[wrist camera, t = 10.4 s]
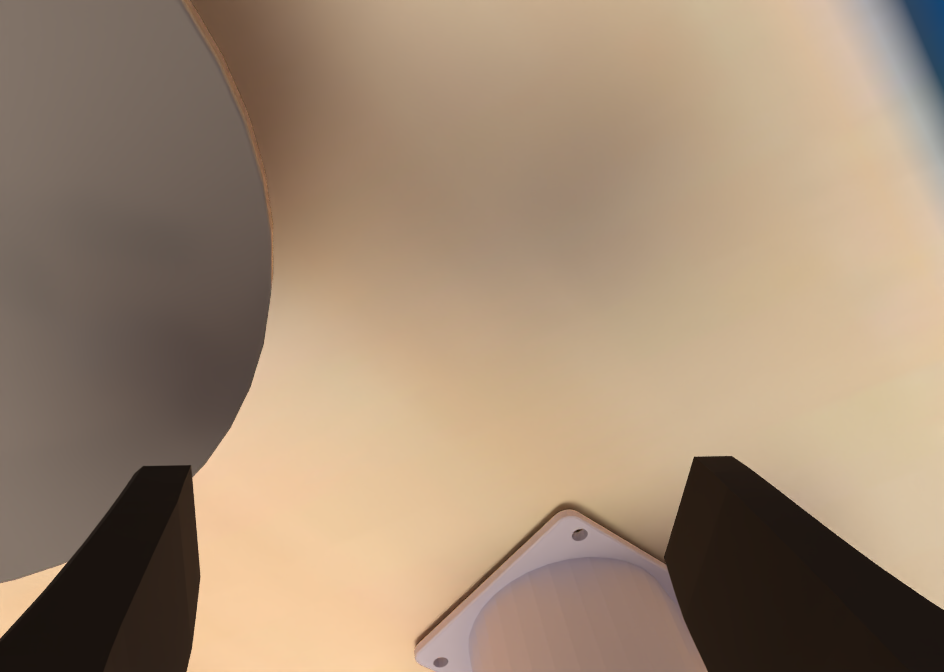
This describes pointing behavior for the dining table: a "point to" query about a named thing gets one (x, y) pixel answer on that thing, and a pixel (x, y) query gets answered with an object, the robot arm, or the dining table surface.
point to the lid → (119, 260)
